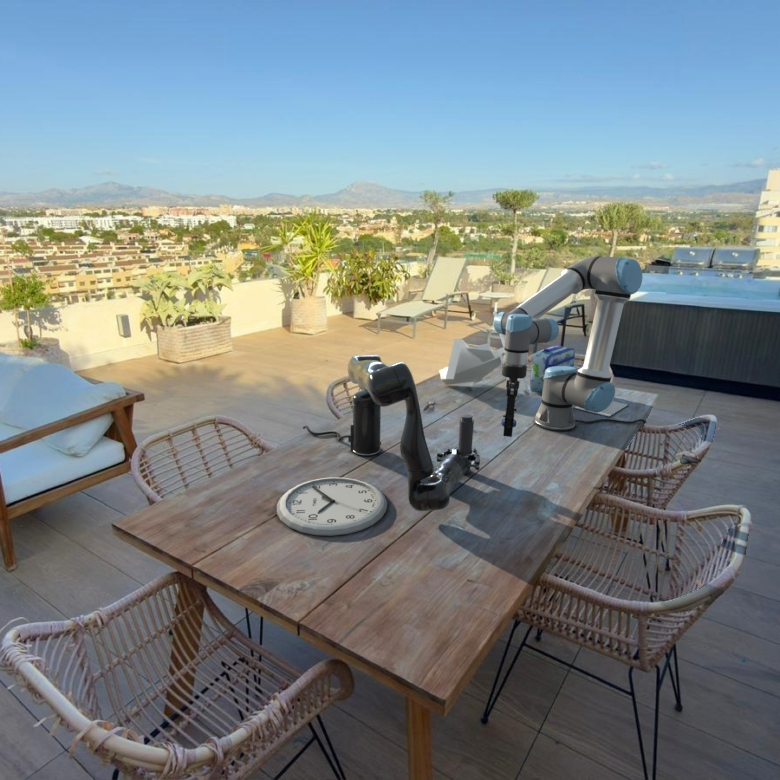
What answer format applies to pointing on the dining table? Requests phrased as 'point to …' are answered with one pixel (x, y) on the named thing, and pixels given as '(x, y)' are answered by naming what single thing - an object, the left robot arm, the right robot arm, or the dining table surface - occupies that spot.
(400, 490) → the dining table surface
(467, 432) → the bottle
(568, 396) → the right robot arm
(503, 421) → the lid
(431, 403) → the fork
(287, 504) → the wall clock
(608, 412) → the grey flat rectangular slab
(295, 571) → the dining table surface
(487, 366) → the white plastic object
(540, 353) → the lunch box
